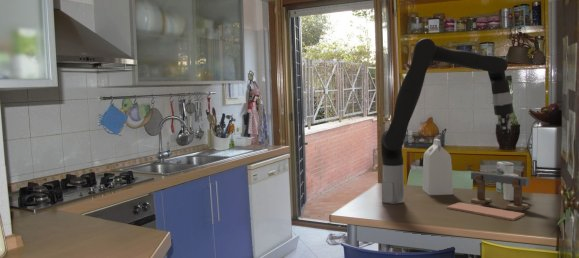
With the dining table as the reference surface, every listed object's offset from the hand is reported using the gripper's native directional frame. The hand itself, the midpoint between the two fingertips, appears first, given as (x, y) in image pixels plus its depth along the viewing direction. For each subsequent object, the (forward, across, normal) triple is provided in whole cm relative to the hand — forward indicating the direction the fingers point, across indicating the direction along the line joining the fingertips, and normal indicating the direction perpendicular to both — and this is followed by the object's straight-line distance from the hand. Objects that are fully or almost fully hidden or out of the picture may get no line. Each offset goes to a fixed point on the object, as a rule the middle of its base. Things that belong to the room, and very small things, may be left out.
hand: (507, 140), depth 208 cm
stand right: (+28, +10, +1) cm, 29 cm away
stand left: (+26, +5, -14) cm, 30 cm away
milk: (+24, -8, -36) cm, 44 cm away
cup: (+28, -5, -3) cm, 28 cm away
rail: (+17, +7, -5) cm, 19 cm away
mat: (+26, +22, -10) cm, 35 cm away
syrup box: (+28, -19, -7) cm, 35 cm away
